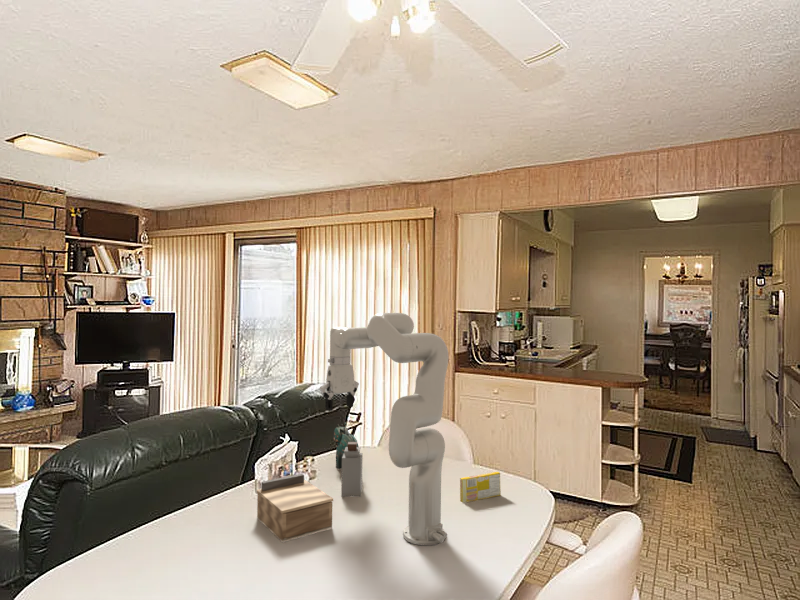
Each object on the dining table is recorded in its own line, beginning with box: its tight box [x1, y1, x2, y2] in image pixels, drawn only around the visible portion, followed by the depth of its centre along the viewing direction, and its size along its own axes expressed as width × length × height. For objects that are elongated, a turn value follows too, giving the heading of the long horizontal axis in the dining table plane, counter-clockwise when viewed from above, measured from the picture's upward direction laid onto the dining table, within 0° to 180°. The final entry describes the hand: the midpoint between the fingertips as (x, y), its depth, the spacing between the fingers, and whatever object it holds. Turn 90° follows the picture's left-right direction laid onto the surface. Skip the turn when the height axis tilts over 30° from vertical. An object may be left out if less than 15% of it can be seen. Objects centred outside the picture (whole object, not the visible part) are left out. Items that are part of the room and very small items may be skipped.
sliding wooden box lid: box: [256, 473, 334, 514], centre depth 162 cm, size 20×17×3 cm
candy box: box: [459, 471, 502, 504], centre depth 184 cm, size 16×2×8 cm, turn 116°
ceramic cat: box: [333, 421, 361, 470], centre depth 210 cm, size 20×6×20 cm, turn 27°
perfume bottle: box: [340, 441, 363, 497], centre depth 188 cm, size 7×7×18 cm
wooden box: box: [256, 493, 333, 543], centre depth 162 cm, size 20×16×8 cm
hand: (339, 408), depth 188 cm, fingers open, 9 cm apart
